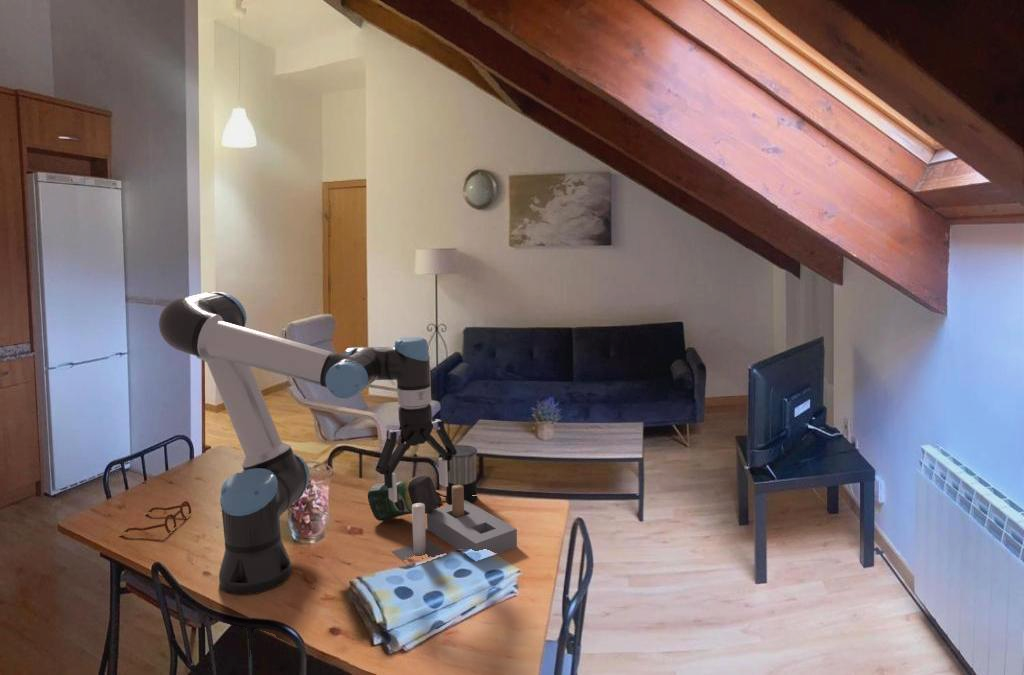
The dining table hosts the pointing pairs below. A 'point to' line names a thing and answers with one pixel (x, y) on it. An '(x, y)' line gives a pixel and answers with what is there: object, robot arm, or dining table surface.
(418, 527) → the peg
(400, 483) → the coffee jar
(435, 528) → the block
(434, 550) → the mat
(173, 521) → the glasses
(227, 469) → the dining table surface
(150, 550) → the dining table surface
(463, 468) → the milk frother
